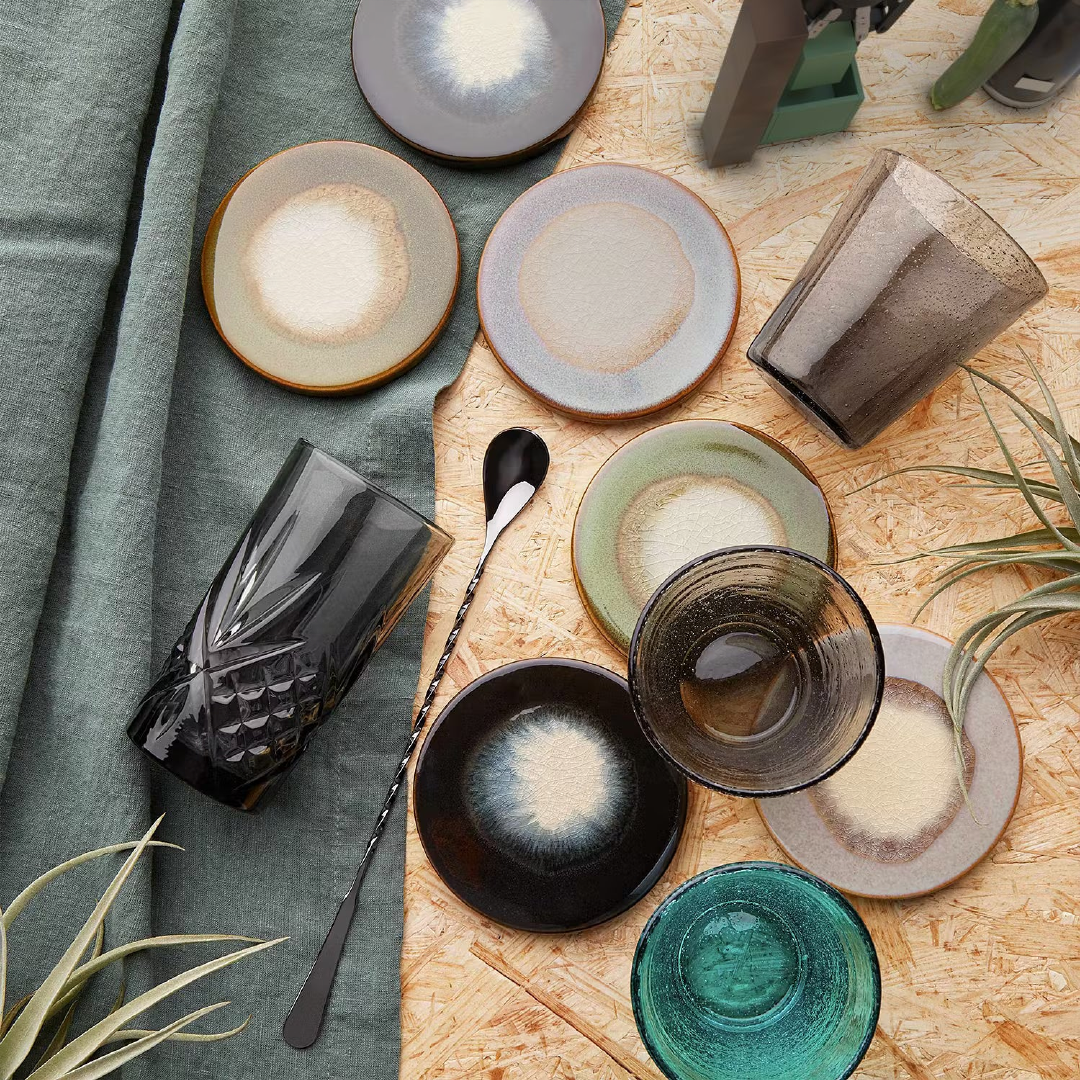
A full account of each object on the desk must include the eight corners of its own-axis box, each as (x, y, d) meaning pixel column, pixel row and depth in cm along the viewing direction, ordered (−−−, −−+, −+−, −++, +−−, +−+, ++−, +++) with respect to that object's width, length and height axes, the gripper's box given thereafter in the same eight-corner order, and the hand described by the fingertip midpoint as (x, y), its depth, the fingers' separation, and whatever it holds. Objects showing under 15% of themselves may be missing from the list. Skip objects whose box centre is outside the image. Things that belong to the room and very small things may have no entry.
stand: (741, 121, 96) (798, -16, 76) (750, 161, 95) (809, 34, 75) (699, 128, 96) (745, -7, 76) (708, 168, 95) (756, 43, 75)
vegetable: (964, 90, 96) (1078, -53, 77) (962, 129, 96) (1076, -5, 76) (922, 86, 96) (1024, -59, 76) (919, 125, 96) (1022, -10, 76)
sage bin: (826, 47, 97) (844, 11, 91) (845, 130, 96) (865, 98, 90) (740, 62, 96) (753, 27, 91) (758, 145, 95) (773, 114, 90)
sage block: (828, 35, 91) (846, 0, 86) (840, 82, 91) (857, 49, 86) (779, 43, 91) (793, 9, 86) (789, 91, 90) (805, 59, 85)
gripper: (796, -15, 73) (746, 108, 90) (973, -45, 73) (890, 84, 90) (776, -102, 74) (730, 37, 91) (951, -131, 74) (873, 13, 91)
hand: (811, 60), depth 90 cm, fingers closed on sage block, 5 cm apart
